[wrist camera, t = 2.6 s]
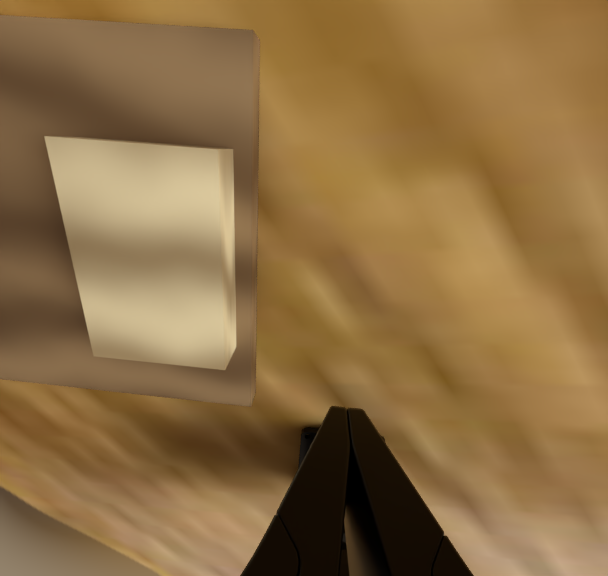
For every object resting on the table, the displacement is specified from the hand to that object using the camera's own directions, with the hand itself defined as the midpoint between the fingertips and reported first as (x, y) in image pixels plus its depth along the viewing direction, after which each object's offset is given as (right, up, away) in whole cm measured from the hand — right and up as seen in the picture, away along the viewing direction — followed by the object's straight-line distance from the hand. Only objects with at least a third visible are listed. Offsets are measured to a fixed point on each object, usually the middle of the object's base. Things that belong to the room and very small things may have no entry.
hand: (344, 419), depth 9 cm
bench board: (-15, +7, +12) cm, 21 cm away
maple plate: (-9, +5, +11) cm, 15 cm away
